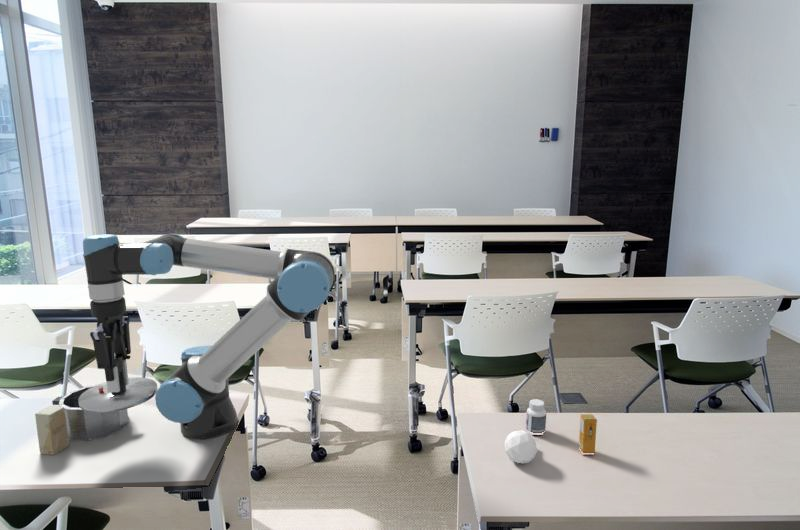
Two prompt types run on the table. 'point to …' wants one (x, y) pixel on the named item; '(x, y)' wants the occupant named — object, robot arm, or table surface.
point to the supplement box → (587, 433)
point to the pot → (89, 418)
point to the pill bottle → (536, 416)
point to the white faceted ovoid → (520, 446)
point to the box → (51, 429)
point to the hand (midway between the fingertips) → (118, 387)
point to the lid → (118, 393)
